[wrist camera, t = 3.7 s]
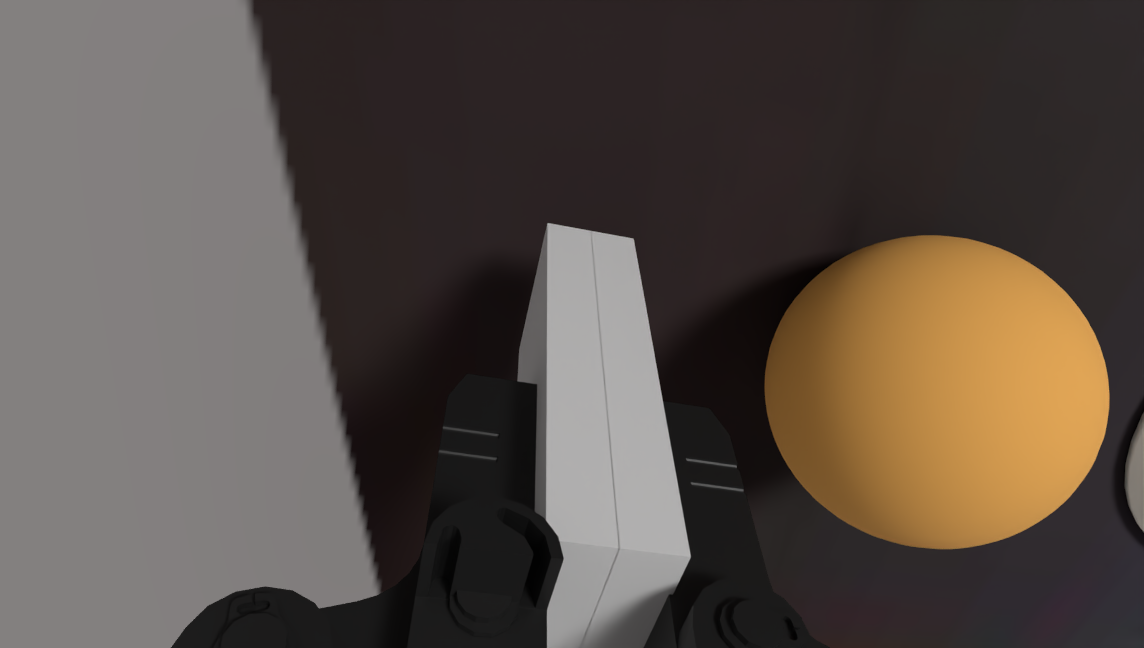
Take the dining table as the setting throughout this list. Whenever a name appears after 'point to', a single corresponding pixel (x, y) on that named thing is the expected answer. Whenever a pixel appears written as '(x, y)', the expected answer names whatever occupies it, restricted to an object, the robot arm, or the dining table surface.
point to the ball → (936, 392)
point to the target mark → (1136, 474)
